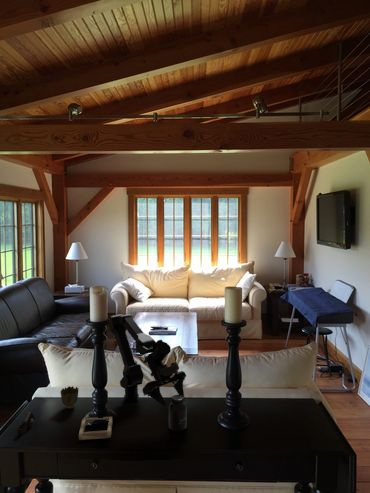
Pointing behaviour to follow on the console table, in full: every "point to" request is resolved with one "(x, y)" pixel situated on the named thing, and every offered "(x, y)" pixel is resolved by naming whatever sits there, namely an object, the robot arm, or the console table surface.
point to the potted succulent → (69, 396)
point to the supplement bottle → (177, 414)
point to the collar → (95, 434)
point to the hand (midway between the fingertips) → (174, 402)
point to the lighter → (26, 423)
